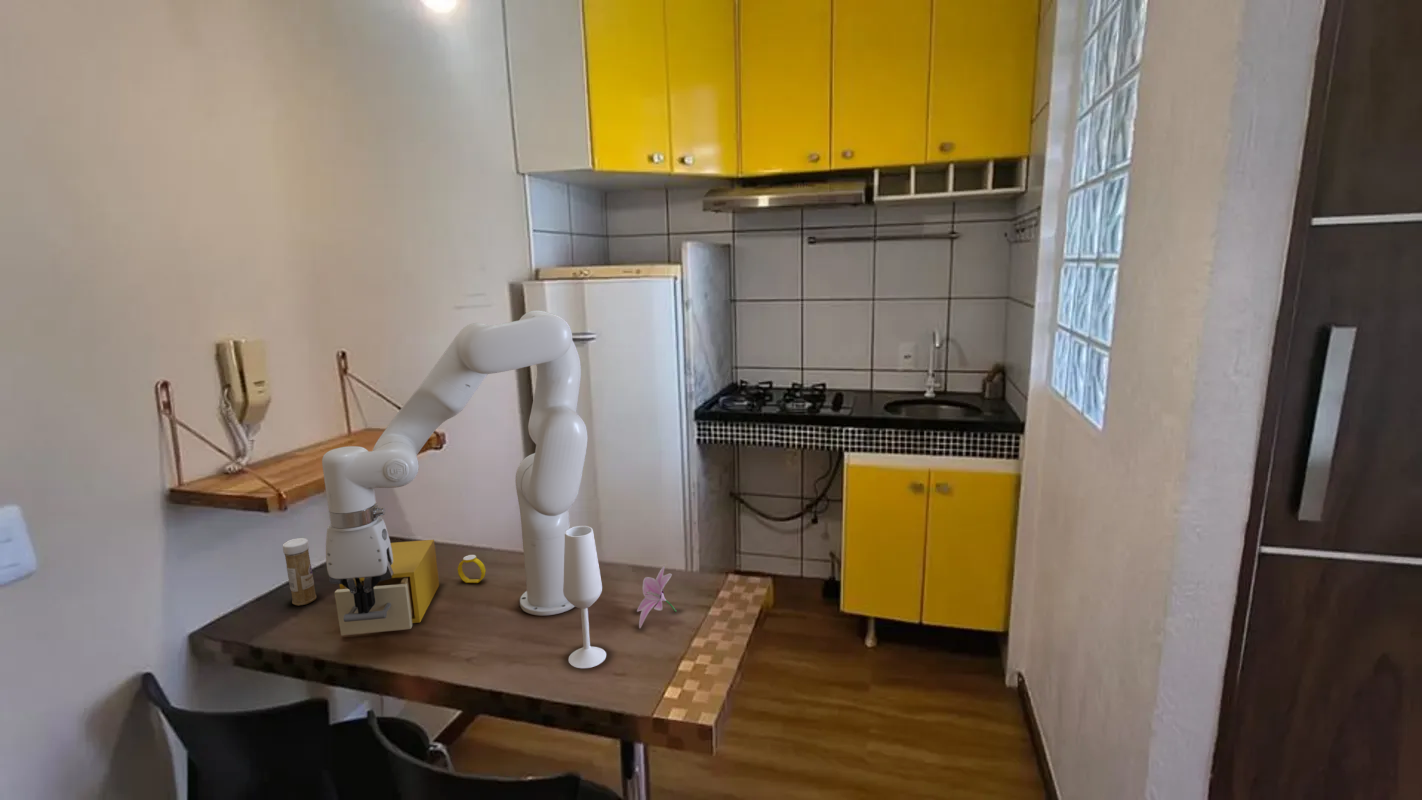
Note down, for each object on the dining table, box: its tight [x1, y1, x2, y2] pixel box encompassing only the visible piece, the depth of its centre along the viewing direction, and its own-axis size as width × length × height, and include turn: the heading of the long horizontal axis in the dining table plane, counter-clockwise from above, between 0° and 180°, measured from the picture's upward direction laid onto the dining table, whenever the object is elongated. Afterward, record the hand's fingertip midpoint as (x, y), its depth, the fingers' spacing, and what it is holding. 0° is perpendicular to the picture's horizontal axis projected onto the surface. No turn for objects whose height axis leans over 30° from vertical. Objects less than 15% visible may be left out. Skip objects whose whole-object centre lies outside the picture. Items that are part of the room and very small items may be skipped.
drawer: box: [334, 577, 414, 636], centre depth 132 cm, size 19×13×9 cm, turn 9°
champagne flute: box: [563, 525, 607, 669], centre depth 118 cm, size 7×7×24 cm
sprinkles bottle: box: [282, 537, 317, 607], centre depth 141 cm, size 5×5×13 cm
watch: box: [457, 554, 487, 584], centre depth 149 cm, size 6×3×6 cm, turn 80°
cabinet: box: [338, 539, 440, 624], centre depth 139 cm, size 16×14×11 cm
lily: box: [636, 564, 677, 629], centre depth 133 cm, size 12×12×10 cm
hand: (366, 609), depth 124 cm, fingers closed
